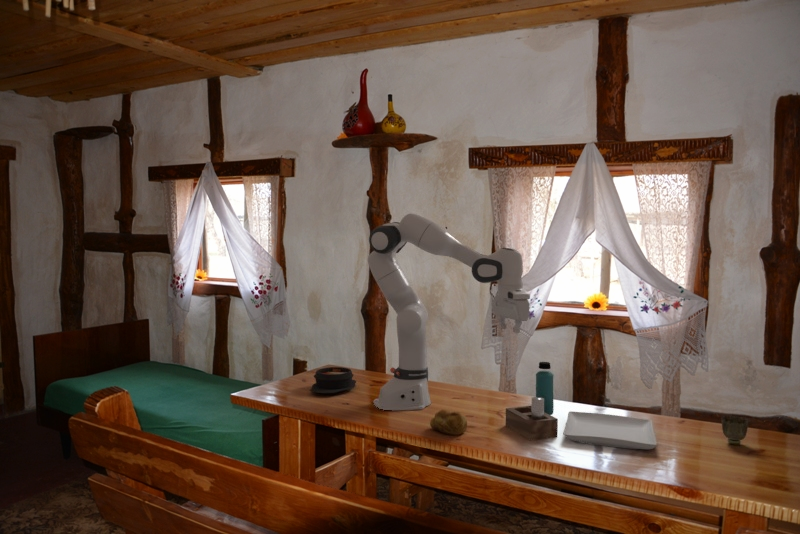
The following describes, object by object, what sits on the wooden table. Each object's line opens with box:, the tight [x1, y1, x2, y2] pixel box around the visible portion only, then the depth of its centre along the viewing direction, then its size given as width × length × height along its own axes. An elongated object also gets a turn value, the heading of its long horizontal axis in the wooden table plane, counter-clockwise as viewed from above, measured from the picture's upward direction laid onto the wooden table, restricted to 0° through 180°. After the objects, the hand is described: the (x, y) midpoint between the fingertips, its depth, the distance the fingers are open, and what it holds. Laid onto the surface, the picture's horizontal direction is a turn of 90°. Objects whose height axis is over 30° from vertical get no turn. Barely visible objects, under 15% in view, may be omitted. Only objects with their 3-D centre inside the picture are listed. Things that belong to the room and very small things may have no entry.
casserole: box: [309, 366, 357, 395], centre depth 245 cm, size 25×19×8 cm
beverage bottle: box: [535, 361, 555, 416], centre depth 207 cm, size 6×7×20 cm
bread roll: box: [429, 409, 468, 436], centre depth 191 cm, size 13×10×8 cm
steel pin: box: [530, 396, 544, 420], centre depth 188 cm, size 4×4×10 cm
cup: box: [720, 415, 749, 446], centre depth 179 cm, size 8×7×8 cm
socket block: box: [505, 405, 559, 442], centre depth 191 cm, size 10×16×6 cm, turn 19°
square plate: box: [563, 410, 658, 450], centre depth 187 cm, size 27×27×4 cm
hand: (509, 330), depth 208 cm, fingers open, 8 cm apart
